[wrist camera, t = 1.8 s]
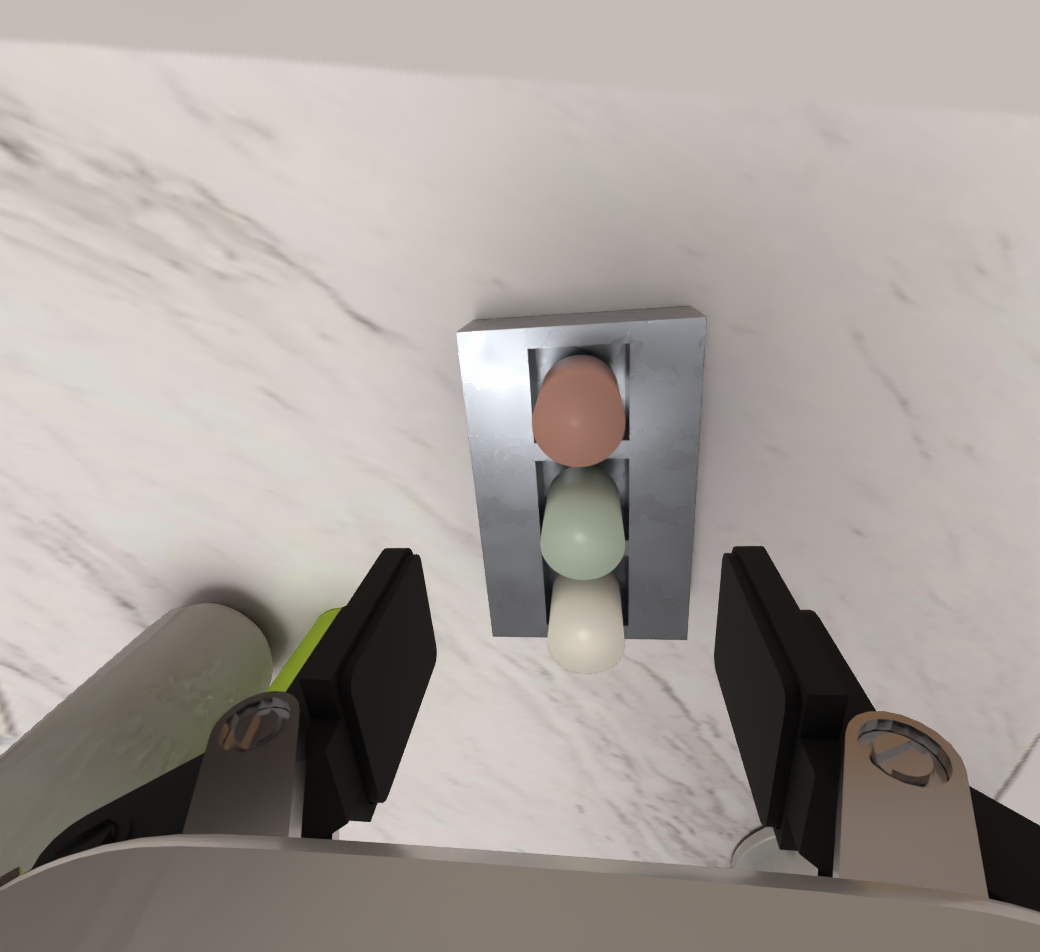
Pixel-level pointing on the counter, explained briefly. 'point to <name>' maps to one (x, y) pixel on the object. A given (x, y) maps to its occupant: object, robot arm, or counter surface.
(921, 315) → the counter surface
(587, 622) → the cream rounded cylinder
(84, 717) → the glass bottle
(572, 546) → the green piece
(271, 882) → the robot arm
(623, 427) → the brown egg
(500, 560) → the gray socket block
